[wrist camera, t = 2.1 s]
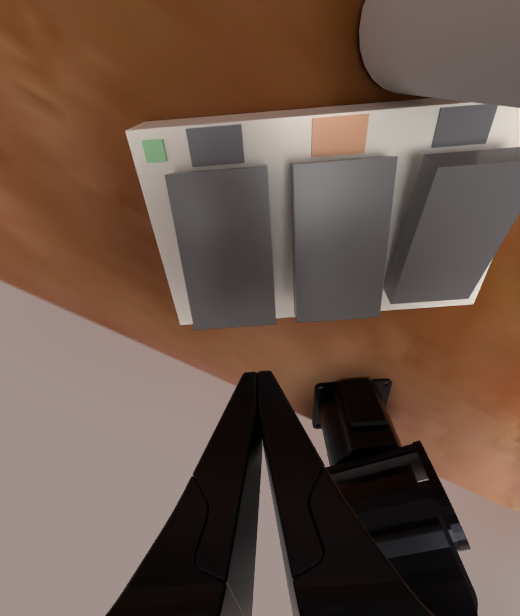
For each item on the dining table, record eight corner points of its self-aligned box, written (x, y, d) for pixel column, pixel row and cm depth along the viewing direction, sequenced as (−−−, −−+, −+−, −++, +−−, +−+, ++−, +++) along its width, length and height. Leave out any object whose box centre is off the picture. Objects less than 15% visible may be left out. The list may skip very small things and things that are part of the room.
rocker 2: (371, 306, 16) (379, 317, 15) (294, 311, 16) (296, 323, 15) (385, 155, 13) (397, 156, 12) (290, 163, 13) (293, 164, 12)
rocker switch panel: (446, 277, 20) (475, 306, 18) (188, 296, 21) (179, 327, 18) (508, 91, 15) (565, 95, 12) (144, 121, 15) (123, 131, 12)
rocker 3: (457, 283, 17) (468, 298, 16) (383, 288, 17) (390, 304, 16) (530, 145, 12) (552, 158, 11) (424, 154, 12) (437, 167, 11)
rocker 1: (274, 313, 16) (276, 324, 15) (198, 318, 16) (194, 330, 15) (266, 165, 13) (267, 166, 12) (171, 172, 13) (164, 174, 12)
